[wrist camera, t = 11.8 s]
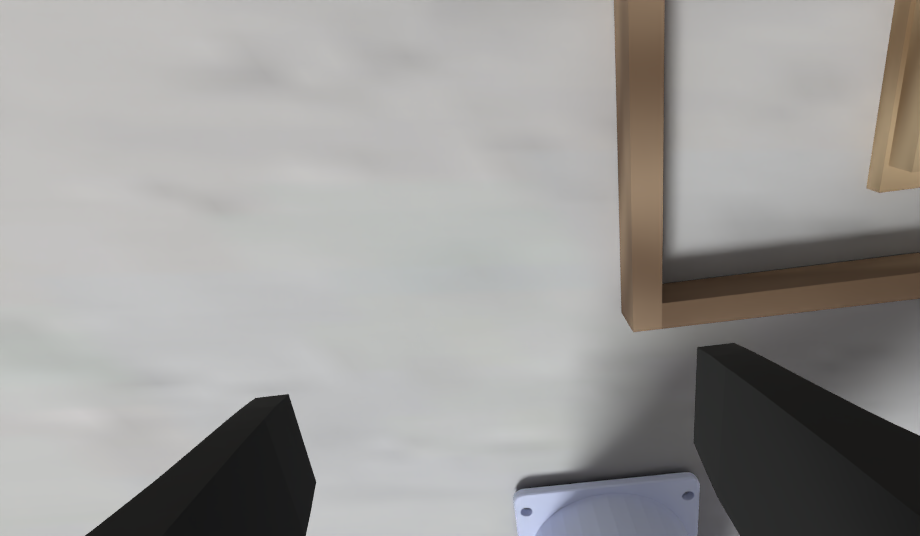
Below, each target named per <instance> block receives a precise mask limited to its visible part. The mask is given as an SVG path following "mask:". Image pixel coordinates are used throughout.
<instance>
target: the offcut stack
mask: <svg viewBox="0 0 920 536" xmlns="http://www.w3.org/2000/svg"><path fill="white" fill-rule="evenodd" d="M912 188H920V0H895V5H894V12H893V18H892V25H891V31H890V38H889V44H888V51H887V57H886V64H885V70H884V77H883V84H882V90H881V97H880V103H879V110H878V116H877V123H876V129H875V136H874V142H873V149H872V155H871V162H870V168H869V175H868V182H867V189H870V190H873V191H876V192H879V193H882V192H889V191H897V190H904V189H912Z"/></svg>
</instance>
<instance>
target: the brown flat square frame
mask: <svg viewBox="0 0 920 536" xmlns="http://www.w3.org/2000/svg"><path fill="white" fill-rule="evenodd" d="M664 9H665V0H614V18H615V59H616V101H617V142H618V184H619V225H620V267H621V308H622V314H623V316H624V317H625V319H626V321H627V322H628V324H629V326H630V327H631V329H632V331H633V332H638V331H646V330H655V329H664V328H672V327H681V326H689V325H698V324H706V323H715V322H723V321H732V320H740V319H749V318H757V317H766V316H774V315H783V314H792V313H800V312H809V311H817V310H826V309H834V308H843V307H851V306H860V305H868V304H877V303H885V302H894V301H902V300H911V299H919V298H920V253H912V254H903V255H895V256H887V257H879V258H870V259H862V260H854V261H846V262H838V263H829V264H821V265H813V266H805V267H797V268H788V269H780V270H772V271H764V272H756V273H747V274H739V275H731V276H723V277H714V278H706V279H698V280H690V281H682V282H673V283H665V284H662V245H663V127H664Z"/></svg>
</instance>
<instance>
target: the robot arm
mask: <svg viewBox="0 0 920 536" xmlns="http://www.w3.org/2000/svg"><path fill="white" fill-rule="evenodd" d="M694 444H695V446H696V449H697V451H698V453H699V456H700V458H701V461H702V463H703V465H704V468H705V470H706V472H707V475H708V477H709V479H710V481H711V483H712V486H713V488H714V490H715V492H716V494H717V497H718V498H719V500H720V502H721V504H722V505H723V507H724V509H725V511H726V512H727V514H728V516H729V517H730V519H731V521H732V523H733V524H734V526H735V528H736V529H737V531H738V533H739V534H740V536H920V436H919V435H917V434H915V433H912V432H910V431H908V430H906V429H904V428H902V427H899V426H897V425H895V424H893V423H891V422H889V421H887V420H885V419H883V418H881V417H879V416H877V415H875V414H872V413H870V412H868V411H866V410H864V409H862V408H860V407H858V406H856V405H854V404H852V403H850V402H848V401H846V400H845V399H843V398H841V397H839V396H837V395H835V394H833V393H831V392H829V391H827V390H825V389H823V388H821V387H819V386H817V385H815V384H814V383H812V382H810V381H808V380H806V379H804V378H802V377H800V376H798V375H796V374H795V373H793V372H791V371H789V370H787V369H785V368H783V367H781V366H779V365H777V364H776V363H774V362H772V361H770V360H768V359H766V358H764V357H762V356H760V355H758V354H756V353H754V352H752V351H750V350H748V349H746V348H744V347H741V346H739V345H737V344H735V343H730V344H722V345H713V346H704V347H697V370H696V396H695V422H694ZM315 485H316V480H315V477H314V474H313V471H312V468H311V464H310V461H309V458H308V455H307V452H306V448H305V445H304V442H303V439H302V436H301V433H300V429H299V426H298V423H297V420H296V417H295V413H294V410H293V407H292V404H291V401H290V397H289V394H286V395H278V396H269V397H260V398H255V399H254V400H252V401H251V402H249V403H248V404H247V405H245V406H244V407H243V408H241V409H240V410H239V411H238V412H236V413H235V414H234V415H233V416H232V417H230V418H229V419H228V420H227V421H226V422H224V423H223V424H222V425H221V426H220V427H218V428H217V429H216V430H215V431H214V432H212V433H211V434H210V435H209V436H208V437H207V438H205V439H204V440H203V441H202V442H201V443H200V444H198V445H197V446H196V447H195V448H194V449H192V450H191V451H190V452H189V453H188V454H186V455H185V456H184V457H183V458H182V459H181V460H179V461H178V462H177V463H176V464H175V465H173V466H172V467H171V468H170V469H169V470H167V471H166V472H165V473H164V474H163V475H162V476H160V477H159V478H158V479H157V480H156V481H154V482H153V483H152V484H151V485H149V486H148V487H147V488H145V489H144V490H143V491H142V492H140V493H139V494H138V495H137V496H135V497H134V498H133V499H132V500H130V501H129V502H128V503H126V504H125V505H124V506H123V507H121V508H120V509H119V510H118V511H116V512H115V513H114V514H113V515H111V516H110V517H109V518H107V519H106V520H105V521H104V522H102V523H101V524H100V525H99V526H97V527H96V528H95V529H93V530H92V531H91V532H89V533H88V534H87V535H85V536H306V531H307V527H308V522H309V517H310V512H311V507H312V501H313V496H314V490H315ZM687 491H689V492H688V493H685V492H687ZM699 493H700V483H699V481H698V479H697V477H696V476H695V475H694V474H693V473H690V472H682V473H672V474H663V475H653V476H643V477H633V478H624V479H614V480H604V481H594V482H584V483H575V484H565V485H555V486H545V487H536V488H526V489H521V490H518V491H517V492H516V493H515V494H514V497H513V500H514V508H515V516H516V523H517V531H518V536H698V515H699ZM523 508H529V509H523Z"/></svg>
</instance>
